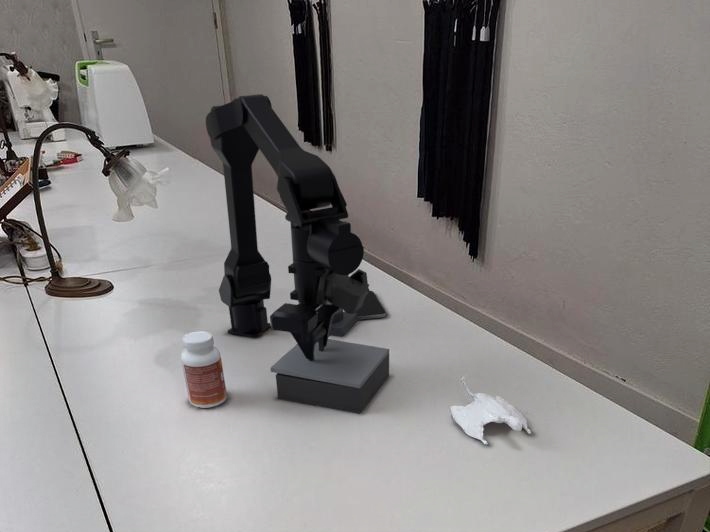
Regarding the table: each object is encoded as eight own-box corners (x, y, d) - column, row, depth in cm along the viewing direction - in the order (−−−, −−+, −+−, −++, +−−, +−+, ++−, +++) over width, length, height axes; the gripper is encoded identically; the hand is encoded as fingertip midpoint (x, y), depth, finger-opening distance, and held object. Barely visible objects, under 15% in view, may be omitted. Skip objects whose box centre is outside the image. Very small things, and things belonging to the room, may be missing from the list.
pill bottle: (233, 402, 107) (224, 338, 100) (198, 413, 104) (186, 348, 97) (217, 387, 111) (208, 325, 104) (183, 398, 108) (171, 335, 102)
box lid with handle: (270, 371, 105) (268, 343, 102) (306, 339, 115) (305, 312, 112) (360, 388, 100) (360, 359, 97) (389, 353, 110) (390, 325, 107)
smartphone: (372, 289, 145) (387, 313, 133) (372, 293, 146) (387, 317, 134) (338, 292, 144) (350, 317, 132) (339, 296, 145) (351, 320, 133)
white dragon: (429, 399, 105) (430, 376, 103) (484, 387, 108) (486, 365, 106) (486, 456, 92) (489, 430, 89) (548, 440, 94) (552, 416, 92)
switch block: (296, 330, 130) (294, 313, 128) (312, 315, 136) (311, 299, 134) (342, 336, 127) (341, 319, 125) (357, 321, 133) (357, 304, 131)
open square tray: (277, 398, 107) (275, 375, 105) (312, 364, 117) (311, 342, 115) (360, 413, 102) (360, 389, 100) (389, 376, 112) (389, 353, 110)
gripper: (336, 282, 89) (339, 385, 98) (383, 244, 102) (381, 337, 112) (264, 273, 92) (273, 373, 101) (318, 238, 106) (322, 328, 115)
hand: (316, 352), depth 107 cm, fingers closed on box lid with handle, 5 cm apart
